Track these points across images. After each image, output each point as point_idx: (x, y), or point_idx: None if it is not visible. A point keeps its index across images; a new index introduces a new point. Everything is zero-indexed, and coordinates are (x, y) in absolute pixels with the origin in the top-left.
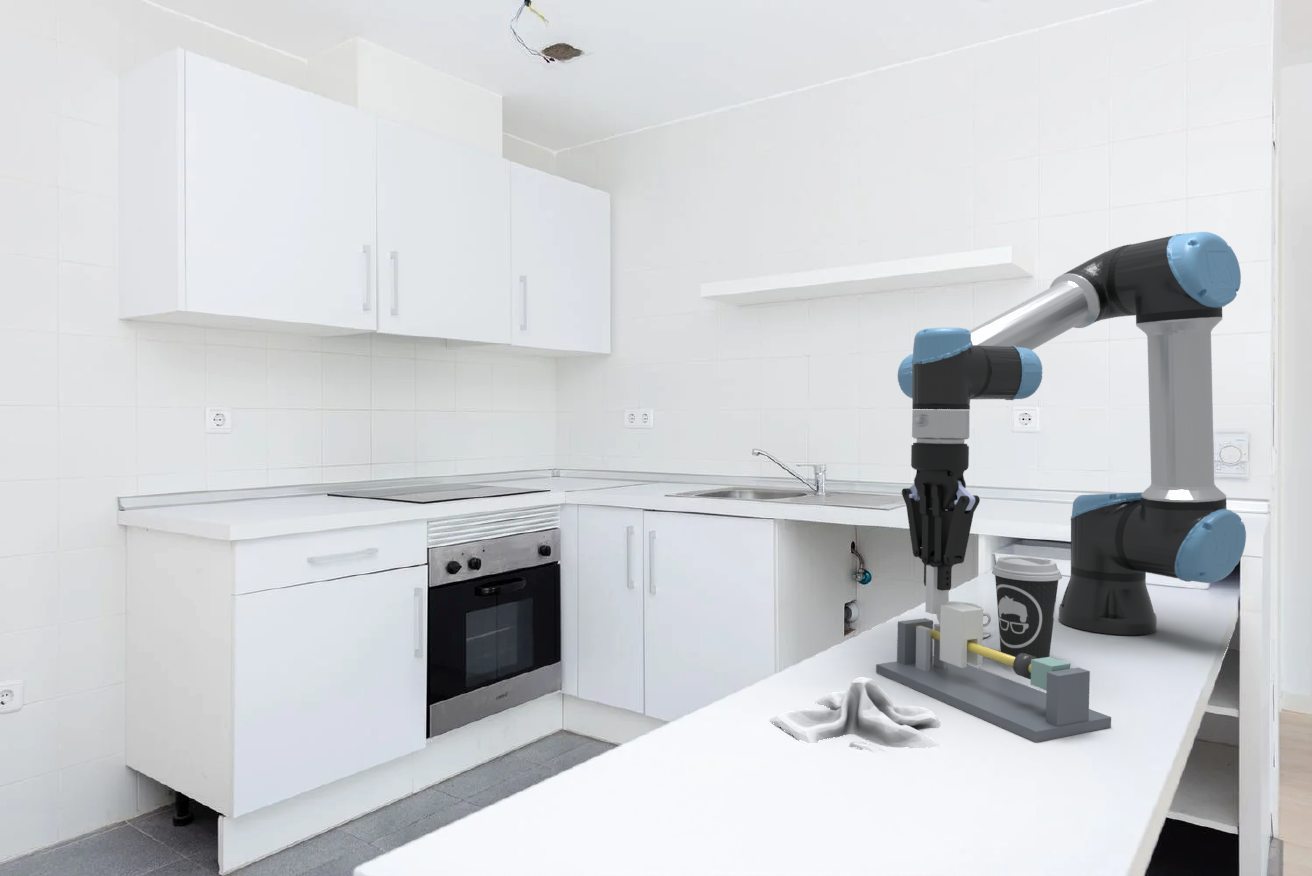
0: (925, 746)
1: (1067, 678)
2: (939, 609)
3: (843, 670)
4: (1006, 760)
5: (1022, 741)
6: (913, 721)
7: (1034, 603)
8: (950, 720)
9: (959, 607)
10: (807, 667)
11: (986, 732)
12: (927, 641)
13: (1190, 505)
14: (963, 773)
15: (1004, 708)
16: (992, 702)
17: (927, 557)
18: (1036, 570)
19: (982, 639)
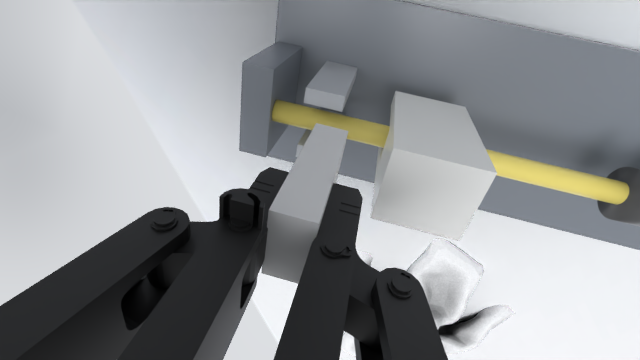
0: (501, 322)
1: None
2: (339, 166)
3: (236, 176)
4: (604, 303)
5: (608, 245)
6: (466, 305)
7: None
8: (483, 242)
9: (425, 205)
10: (203, 202)
11: (547, 248)
12: None
13: None
14: (568, 347)
15: (558, 195)
16: (528, 184)
17: (250, 296)
18: None
19: (476, 131)
